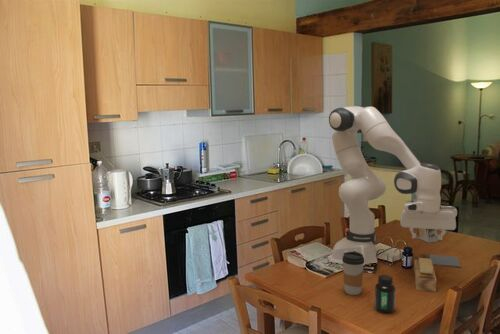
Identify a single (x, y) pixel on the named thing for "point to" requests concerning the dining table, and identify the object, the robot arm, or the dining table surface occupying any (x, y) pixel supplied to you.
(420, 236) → the coffee box
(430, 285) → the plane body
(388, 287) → the supplement bottle
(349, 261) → the coffee cup
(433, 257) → the mat
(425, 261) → the beige rectangular block
